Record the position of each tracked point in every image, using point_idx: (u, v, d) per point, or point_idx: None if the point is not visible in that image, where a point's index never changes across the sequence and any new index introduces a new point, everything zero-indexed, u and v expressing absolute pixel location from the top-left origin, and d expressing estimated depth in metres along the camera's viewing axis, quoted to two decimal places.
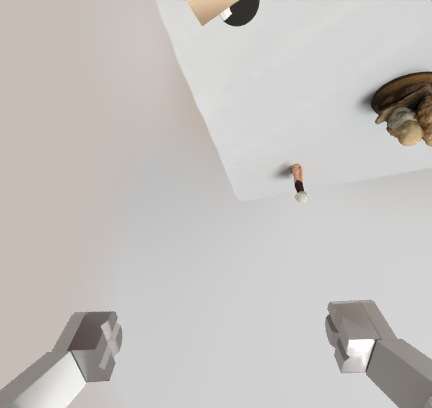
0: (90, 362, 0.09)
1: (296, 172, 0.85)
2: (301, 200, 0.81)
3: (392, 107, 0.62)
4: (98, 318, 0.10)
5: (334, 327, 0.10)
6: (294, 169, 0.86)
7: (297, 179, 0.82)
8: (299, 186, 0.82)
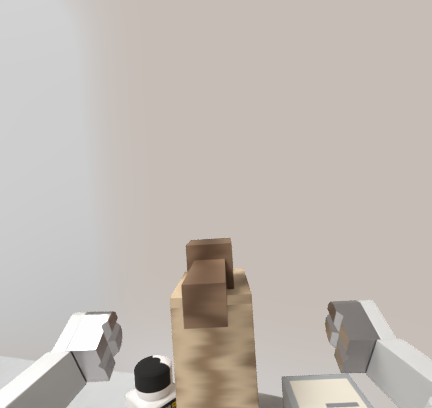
0: (90, 362, 0.09)
1: None
2: None
3: None
4: (98, 318, 0.10)
5: (334, 327, 0.10)
6: None
7: None
8: None
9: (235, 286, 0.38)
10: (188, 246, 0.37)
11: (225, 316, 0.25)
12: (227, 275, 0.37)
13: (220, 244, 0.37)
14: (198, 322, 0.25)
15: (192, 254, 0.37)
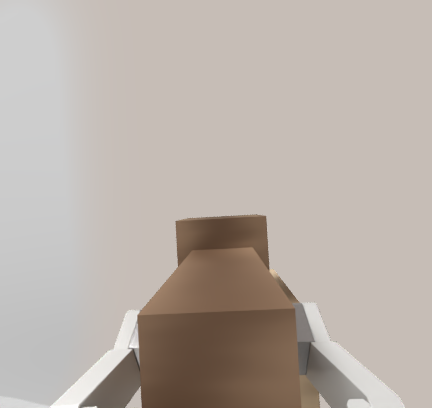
0: None
1: None
2: None
3: None
4: None
5: None
6: None
7: None
8: None
9: None
10: (180, 222, 0.19)
11: None
12: None
13: (244, 219, 0.19)
14: None
15: (187, 239, 0.19)
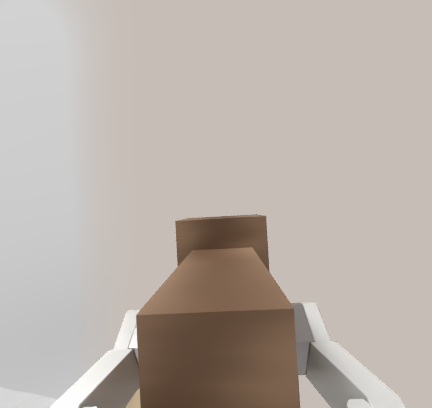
0: None
1: None
2: None
3: None
4: None
5: None
6: None
7: None
8: None
9: None
10: (180, 222, 0.19)
11: None
12: None
13: (244, 219, 0.19)
14: None
15: (187, 239, 0.19)
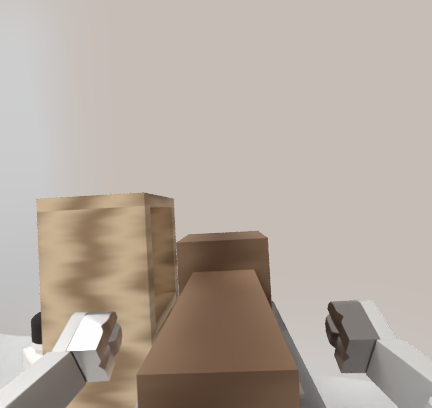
0: (90, 362, 0.09)
1: None
2: None
3: None
4: (98, 318, 0.10)
5: (334, 327, 0.10)
6: None
7: None
8: None
9: None
10: (181, 244, 0.19)
11: None
12: None
13: (245, 240, 0.18)
14: None
15: (188, 261, 0.19)
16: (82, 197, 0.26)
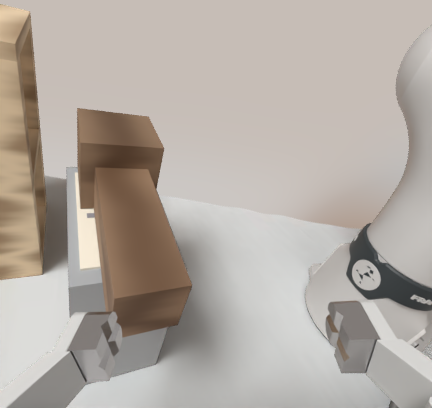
0: (90, 362, 0.09)
1: None
2: None
3: None
4: (98, 318, 0.10)
5: (334, 327, 0.10)
6: None
7: None
8: None
9: None
10: (85, 144, 0.20)
11: (178, 317, 0.17)
12: None
13: (145, 147, 0.22)
14: (134, 329, 0.16)
15: (91, 158, 0.21)
16: None
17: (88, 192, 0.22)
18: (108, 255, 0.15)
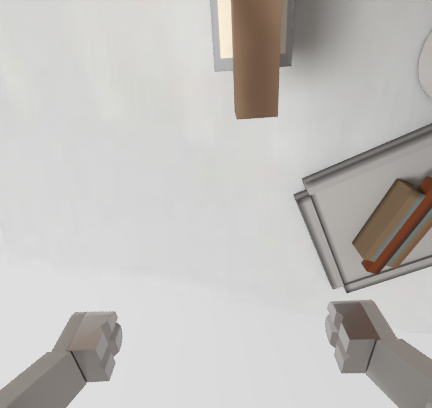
0: (90, 362, 0.09)
1: None
2: None
3: None
4: (98, 318, 0.10)
5: (334, 327, 0.10)
6: None
7: None
8: None
9: None
10: None
11: None
12: None
13: None
14: None
15: None
16: None
17: None
18: (236, 89, 0.27)
